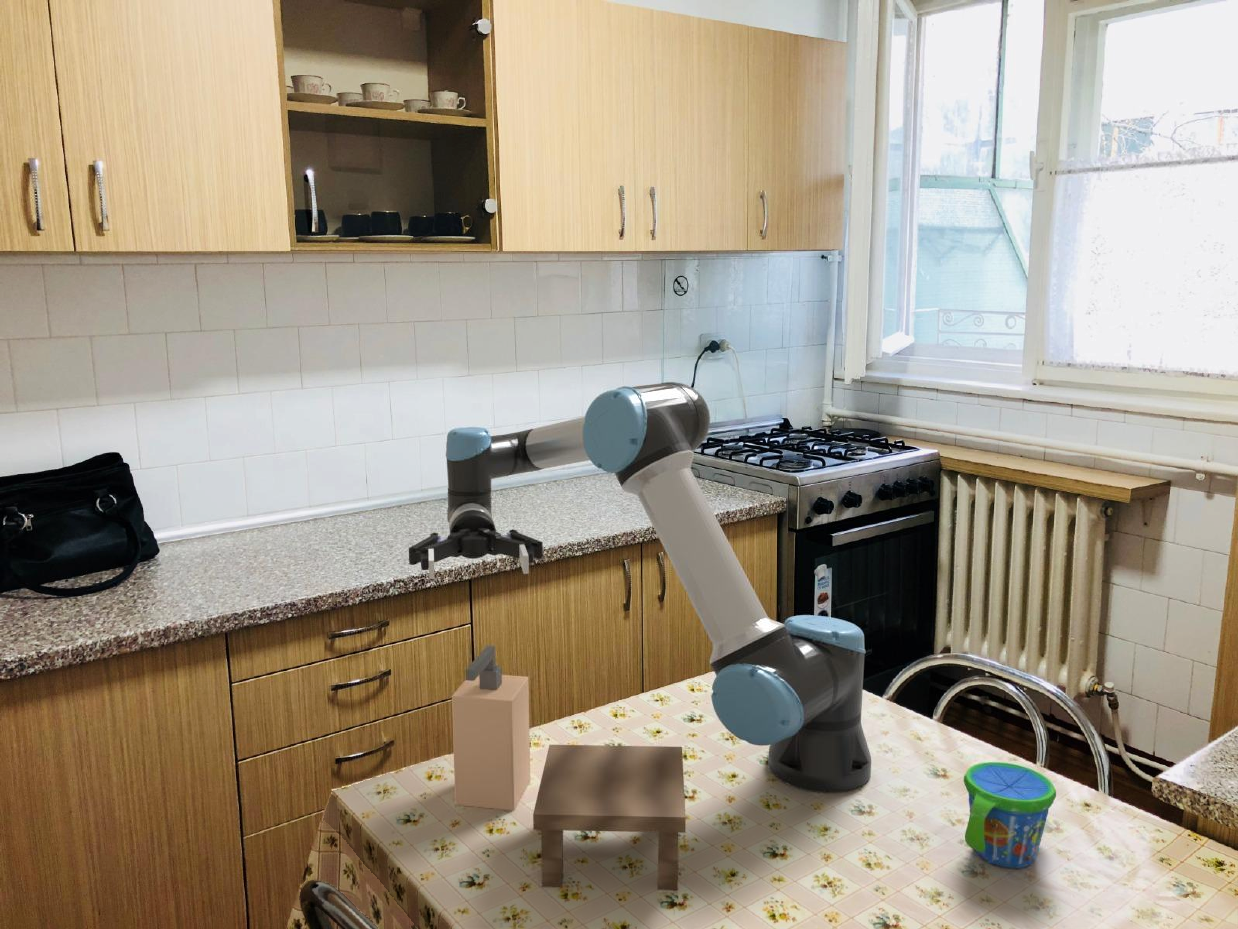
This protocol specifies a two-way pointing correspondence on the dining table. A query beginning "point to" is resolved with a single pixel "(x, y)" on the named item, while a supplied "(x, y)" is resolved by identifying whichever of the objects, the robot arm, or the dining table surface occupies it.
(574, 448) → the robot arm
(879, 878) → the dining table surface
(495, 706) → the soap dispenser
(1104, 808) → the dining table surface
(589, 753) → the walnut stool
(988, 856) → the snack cup
